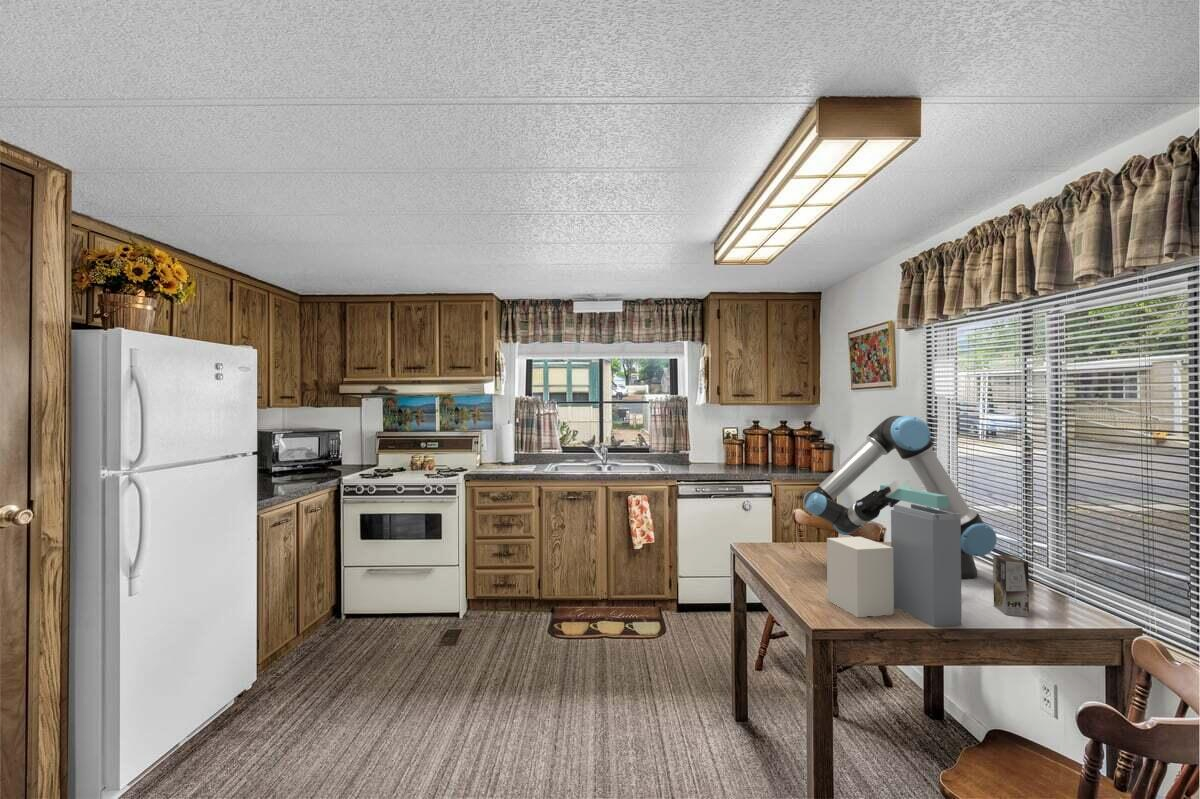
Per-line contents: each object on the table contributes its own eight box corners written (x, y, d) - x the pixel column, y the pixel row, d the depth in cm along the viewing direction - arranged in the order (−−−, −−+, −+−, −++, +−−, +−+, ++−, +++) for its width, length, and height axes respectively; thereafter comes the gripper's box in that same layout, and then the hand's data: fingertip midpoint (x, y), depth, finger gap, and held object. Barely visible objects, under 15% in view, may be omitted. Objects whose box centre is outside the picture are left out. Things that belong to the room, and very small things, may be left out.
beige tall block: (861, 598, 198) (860, 536, 198) (893, 614, 182) (893, 547, 182) (827, 600, 195) (826, 538, 196) (857, 617, 180) (857, 549, 180)
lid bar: (889, 495, 200) (889, 484, 200) (948, 508, 175) (948, 495, 175) (880, 495, 199) (880, 485, 199) (937, 508, 174) (937, 496, 174)
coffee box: (1030, 617, 180) (1029, 562, 180) (1005, 615, 181) (1005, 561, 182) (1015, 607, 189) (1015, 554, 189) (992, 605, 190) (992, 553, 190)
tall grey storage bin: (917, 604, 191) (916, 504, 192) (961, 624, 174) (960, 513, 174) (891, 606, 190) (890, 504, 190) (933, 626, 172) (932, 514, 172)
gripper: (889, 520, 210) (931, 494, 191) (845, 522, 207) (883, 496, 187) (881, 500, 214) (922, 472, 194) (839, 502, 211) (875, 474, 191)
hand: (903, 484), depth 191 cm, fingers closed on lid bar, 3 cm apart
